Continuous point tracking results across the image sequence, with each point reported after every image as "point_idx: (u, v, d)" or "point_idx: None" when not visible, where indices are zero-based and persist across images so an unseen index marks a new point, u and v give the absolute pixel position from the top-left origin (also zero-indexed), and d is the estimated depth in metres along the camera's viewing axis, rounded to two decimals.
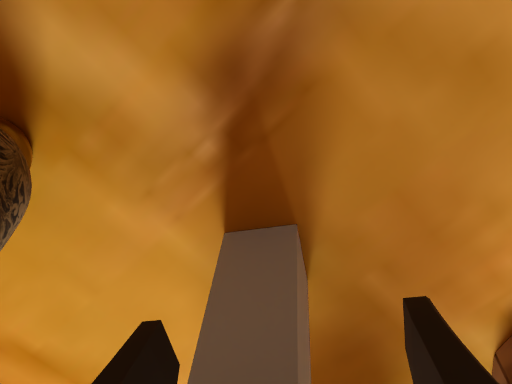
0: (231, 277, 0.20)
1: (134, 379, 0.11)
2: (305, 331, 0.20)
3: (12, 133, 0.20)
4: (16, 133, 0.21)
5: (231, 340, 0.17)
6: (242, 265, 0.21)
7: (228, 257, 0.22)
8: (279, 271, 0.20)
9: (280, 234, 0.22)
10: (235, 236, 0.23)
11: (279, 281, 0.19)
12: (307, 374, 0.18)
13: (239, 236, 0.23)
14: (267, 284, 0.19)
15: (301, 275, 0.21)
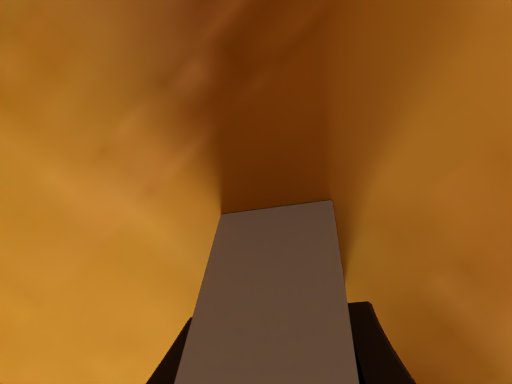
0: (231, 282, 0.12)
1: None
2: None
3: None
4: None
5: None
6: (249, 262, 0.13)
7: (226, 250, 0.14)
8: (312, 273, 0.12)
9: (308, 215, 0.14)
10: (237, 218, 0.15)
11: (313, 290, 0.11)
12: None
13: (244, 218, 0.15)
14: (293, 294, 0.11)
15: None
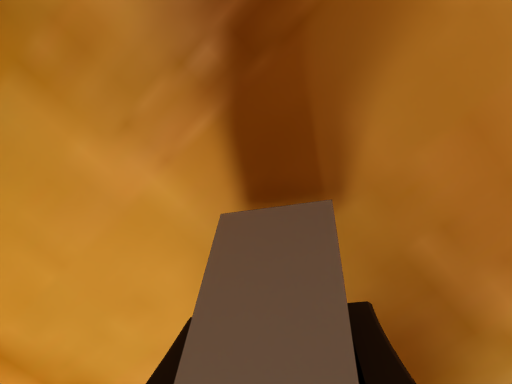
0: (231, 282, 0.12)
1: None
2: None
3: None
4: None
5: None
6: (249, 261, 0.13)
7: (226, 250, 0.14)
8: (312, 273, 0.12)
9: (307, 214, 0.14)
10: (237, 218, 0.15)
11: (313, 290, 0.11)
12: None
13: (243, 218, 0.15)
14: (293, 293, 0.11)
15: None
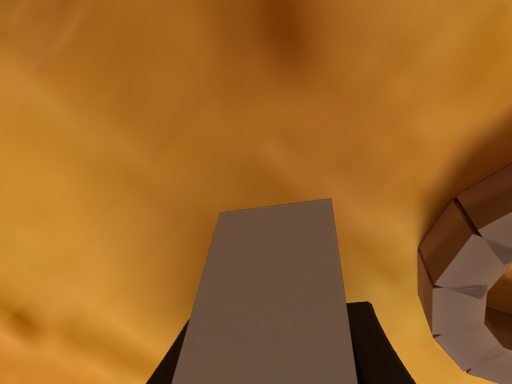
0: (230, 280, 0.12)
1: None
2: None
3: None
4: None
5: None
6: (248, 260, 0.13)
7: (225, 248, 0.14)
8: (311, 271, 0.12)
9: (306, 213, 0.14)
10: (236, 217, 0.15)
11: (312, 288, 0.11)
12: None
13: (242, 217, 0.15)
14: (292, 291, 0.11)
15: None
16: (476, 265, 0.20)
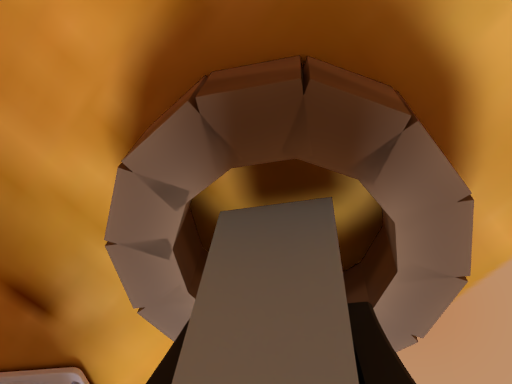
0: (230, 279, 0.12)
1: None
2: None
3: None
4: None
5: None
6: (248, 259, 0.13)
7: (226, 247, 0.14)
8: (311, 270, 0.12)
9: (307, 211, 0.14)
10: (237, 216, 0.15)
11: (313, 287, 0.11)
12: None
13: (243, 215, 0.15)
14: (292, 290, 0.11)
15: None
16: (142, 212, 0.15)
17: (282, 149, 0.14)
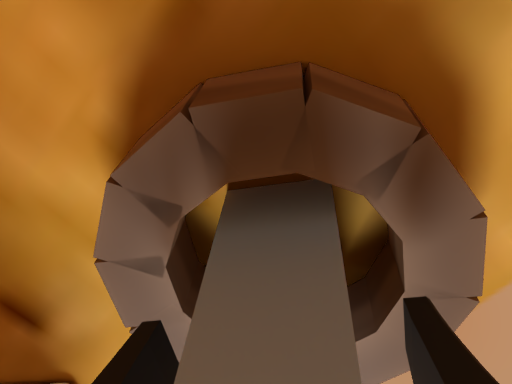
0: (238, 246, 0.13)
1: (134, 379, 0.11)
2: None
3: None
4: None
5: (240, 342, 0.10)
6: (254, 229, 0.14)
7: (233, 220, 0.15)
8: (312, 238, 0.13)
9: (308, 190, 0.16)
10: (243, 194, 0.16)
11: (313, 252, 0.12)
12: None
13: (248, 194, 0.16)
14: (294, 255, 0.12)
15: None
16: (133, 228, 0.14)
17: (282, 163, 0.13)
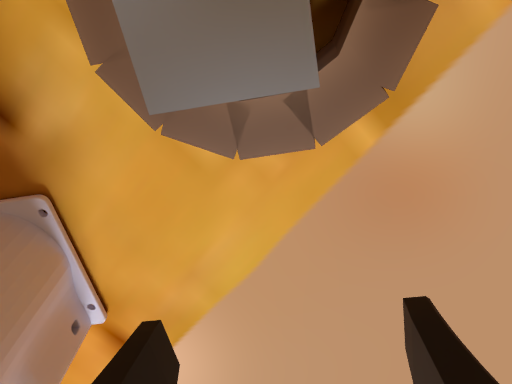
0: None
1: (134, 379, 0.11)
2: None
3: None
4: None
5: None
6: None
7: None
8: None
9: None
10: None
11: None
12: None
13: None
14: None
15: None
16: None
17: None
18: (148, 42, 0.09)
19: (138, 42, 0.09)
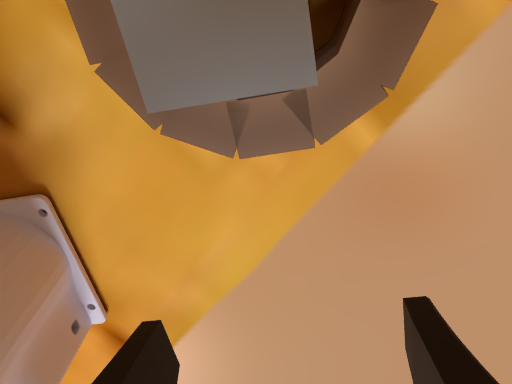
0: None
1: (134, 379, 0.11)
2: None
3: None
4: None
5: None
6: None
7: None
8: None
9: None
10: None
11: None
12: None
13: None
14: None
15: None
16: None
17: None
18: (146, 40, 0.09)
19: (136, 39, 0.09)
